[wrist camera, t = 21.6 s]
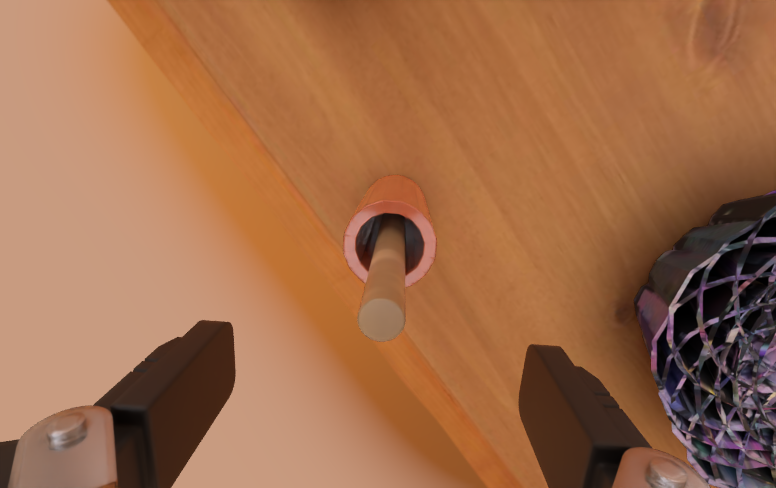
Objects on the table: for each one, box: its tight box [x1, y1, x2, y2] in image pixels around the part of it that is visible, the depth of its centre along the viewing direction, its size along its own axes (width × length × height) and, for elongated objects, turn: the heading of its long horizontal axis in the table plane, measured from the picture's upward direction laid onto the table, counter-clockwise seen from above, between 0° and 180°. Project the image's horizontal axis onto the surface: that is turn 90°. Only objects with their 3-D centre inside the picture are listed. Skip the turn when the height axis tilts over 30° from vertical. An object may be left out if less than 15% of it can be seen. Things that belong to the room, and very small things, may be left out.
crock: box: [343, 175, 437, 287], centre depth 27 cm, size 5×5×12 cm
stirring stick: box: [357, 213, 406, 342], centre depth 23 cm, size 2×2×20 cm
